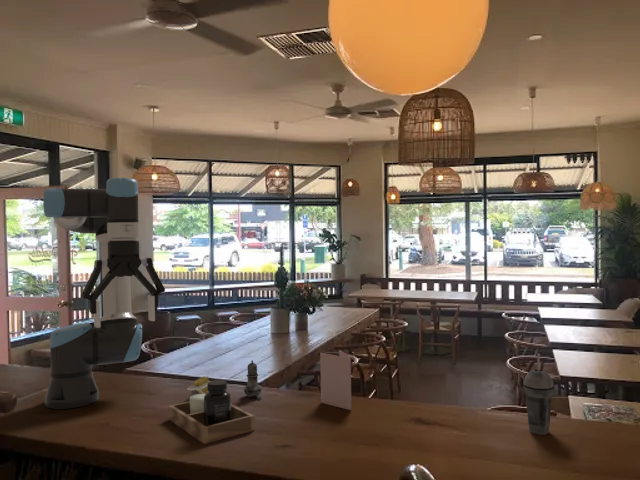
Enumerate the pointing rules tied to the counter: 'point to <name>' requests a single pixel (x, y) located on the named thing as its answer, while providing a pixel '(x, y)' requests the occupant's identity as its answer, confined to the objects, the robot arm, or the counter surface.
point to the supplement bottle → (217, 403)
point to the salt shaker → (252, 383)
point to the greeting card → (336, 380)
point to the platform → (199, 386)
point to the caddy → (211, 433)
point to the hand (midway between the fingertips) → (125, 323)
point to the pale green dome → (197, 403)
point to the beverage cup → (538, 399)
